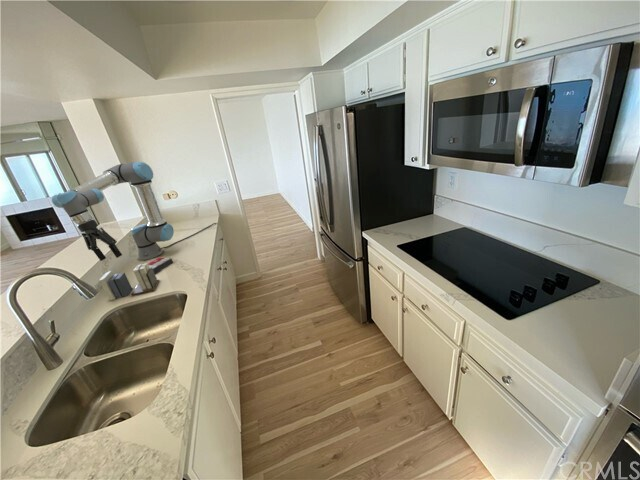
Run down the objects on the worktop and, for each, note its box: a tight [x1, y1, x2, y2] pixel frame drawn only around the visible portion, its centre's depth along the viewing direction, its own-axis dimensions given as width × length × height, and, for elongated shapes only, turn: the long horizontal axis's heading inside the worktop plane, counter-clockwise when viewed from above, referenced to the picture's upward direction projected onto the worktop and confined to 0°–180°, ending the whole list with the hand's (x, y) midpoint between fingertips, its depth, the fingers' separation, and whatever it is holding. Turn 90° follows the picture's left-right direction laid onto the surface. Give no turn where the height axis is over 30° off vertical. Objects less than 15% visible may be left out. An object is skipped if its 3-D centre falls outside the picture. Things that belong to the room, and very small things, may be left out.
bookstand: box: [131, 262, 160, 297], centre depth 147 cm, size 11×11×14 cm
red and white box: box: [147, 257, 174, 275], centre depth 172 cm, size 11×4×15 cm
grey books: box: [108, 272, 133, 299], centre depth 145 cm, size 7×5×11 cm
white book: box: [98, 270, 117, 301], centre depth 144 cm, size 9×2×13 cm, turn 16°
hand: (111, 258), depth 139 cm, fingers open, 13 cm apart
